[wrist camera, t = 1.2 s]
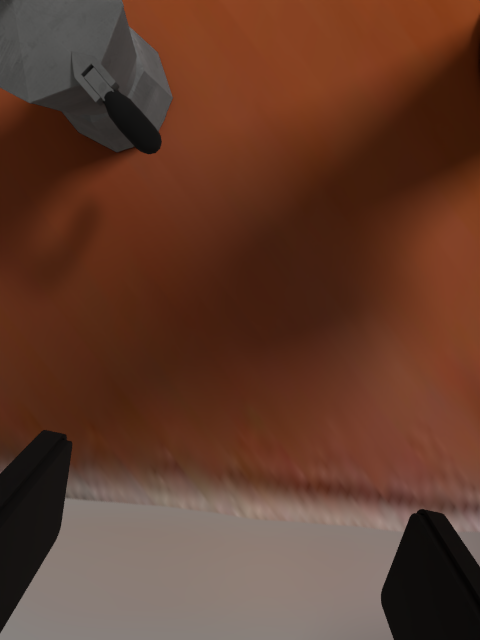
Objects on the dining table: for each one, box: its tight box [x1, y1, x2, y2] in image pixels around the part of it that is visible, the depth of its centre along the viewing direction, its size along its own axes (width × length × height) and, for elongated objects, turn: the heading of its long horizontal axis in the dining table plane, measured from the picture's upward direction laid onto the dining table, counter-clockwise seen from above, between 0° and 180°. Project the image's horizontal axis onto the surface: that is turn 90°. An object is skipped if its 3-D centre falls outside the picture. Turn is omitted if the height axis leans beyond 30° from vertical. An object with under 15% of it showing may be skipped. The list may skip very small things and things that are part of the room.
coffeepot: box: [0, 0, 173, 154], centre depth 25 cm, size 15×9×18 cm, turn 40°
